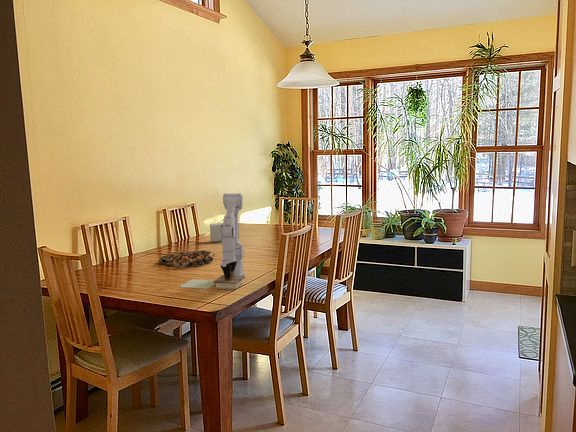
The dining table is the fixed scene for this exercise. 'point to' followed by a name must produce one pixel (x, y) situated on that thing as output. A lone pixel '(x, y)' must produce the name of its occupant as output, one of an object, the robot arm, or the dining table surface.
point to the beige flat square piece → (198, 284)
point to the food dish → (187, 259)
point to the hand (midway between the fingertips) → (229, 277)
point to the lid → (232, 279)
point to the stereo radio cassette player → (217, 232)
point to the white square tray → (228, 285)
